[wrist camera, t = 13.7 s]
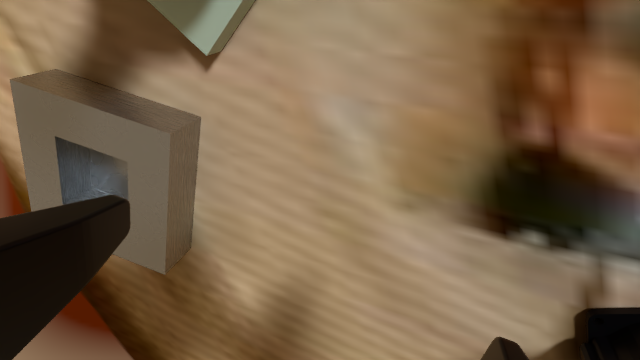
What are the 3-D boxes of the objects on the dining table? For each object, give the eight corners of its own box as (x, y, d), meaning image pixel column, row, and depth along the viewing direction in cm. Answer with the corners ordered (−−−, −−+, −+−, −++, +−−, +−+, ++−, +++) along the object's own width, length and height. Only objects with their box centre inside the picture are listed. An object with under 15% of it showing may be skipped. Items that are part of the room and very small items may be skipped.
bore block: (200, 117, 23) (170, 133, 21) (190, 248, 28) (164, 274, 26) (55, 69, 25) (9, 79, 22) (69, 202, 30) (33, 223, 27)
